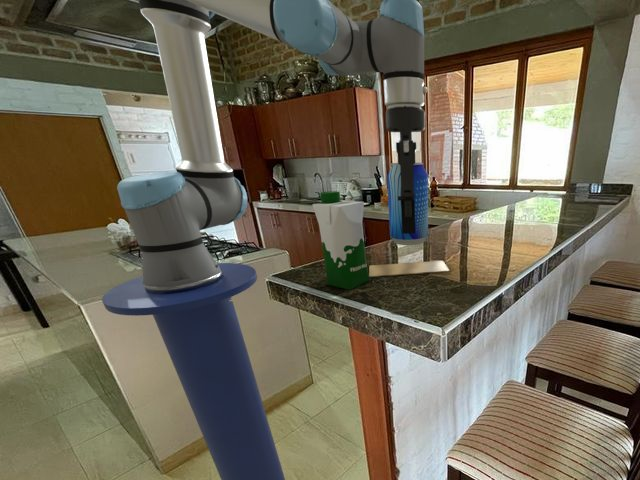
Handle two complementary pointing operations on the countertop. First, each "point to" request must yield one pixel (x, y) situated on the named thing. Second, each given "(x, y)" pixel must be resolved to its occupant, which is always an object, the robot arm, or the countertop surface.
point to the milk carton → (342, 240)
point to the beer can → (420, 205)
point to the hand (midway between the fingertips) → (408, 228)
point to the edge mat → (407, 268)
